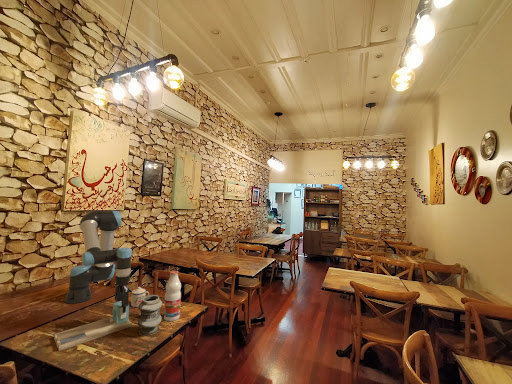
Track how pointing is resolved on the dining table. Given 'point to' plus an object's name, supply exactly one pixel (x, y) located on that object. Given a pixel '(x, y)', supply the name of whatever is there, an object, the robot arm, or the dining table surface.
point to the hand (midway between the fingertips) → (120, 315)
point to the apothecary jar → (149, 315)
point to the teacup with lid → (138, 296)
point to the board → (88, 332)
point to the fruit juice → (172, 298)
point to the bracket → (119, 313)
